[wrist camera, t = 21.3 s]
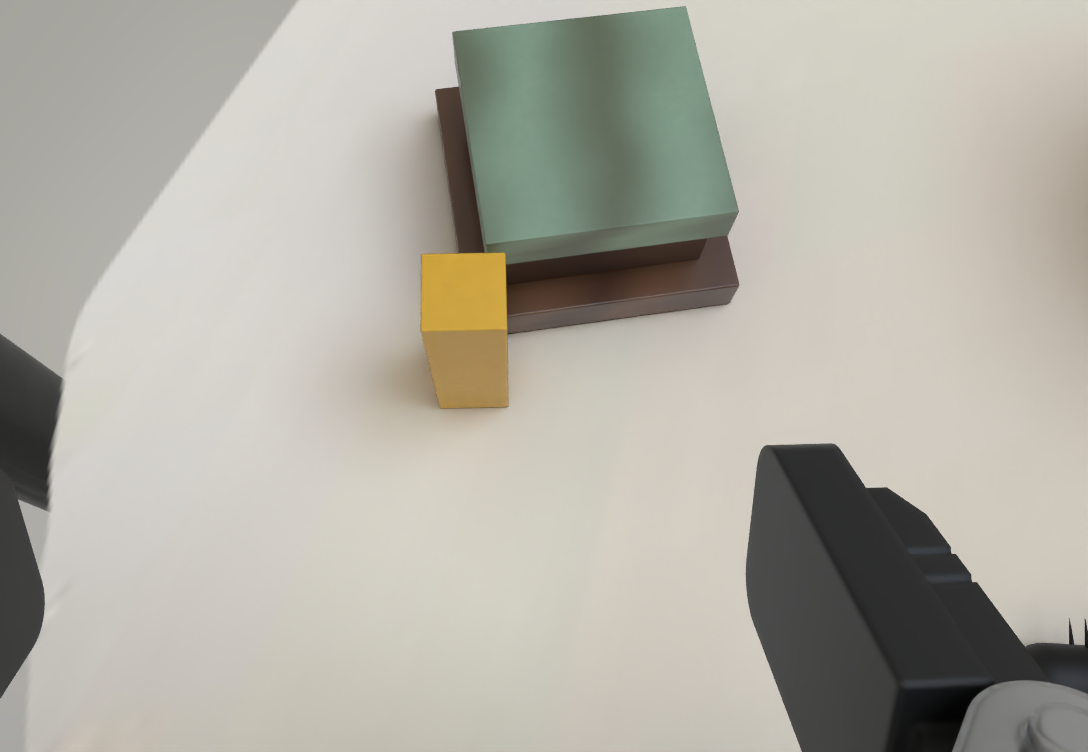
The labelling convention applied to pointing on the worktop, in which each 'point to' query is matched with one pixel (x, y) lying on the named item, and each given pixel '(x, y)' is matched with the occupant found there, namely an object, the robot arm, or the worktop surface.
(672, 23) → the two-tone stepped base
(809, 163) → the worktop surface
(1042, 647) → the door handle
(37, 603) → the robot arm
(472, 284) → the bar
